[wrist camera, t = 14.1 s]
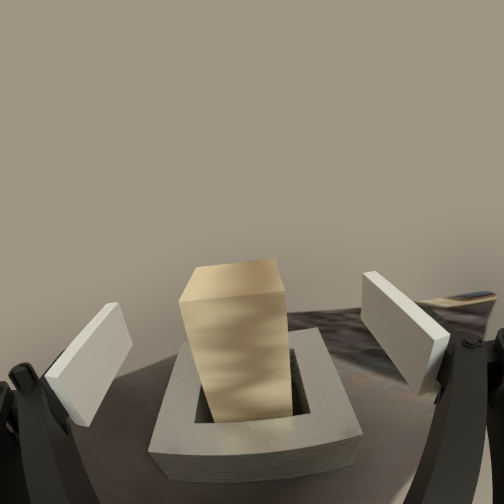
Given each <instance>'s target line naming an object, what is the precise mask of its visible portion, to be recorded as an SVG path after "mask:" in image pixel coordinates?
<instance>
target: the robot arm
mask: <svg viewBox="0 0 504 504" xmlns="http://www.w3.org/2000/svg"><path fill="white" fill-rule="evenodd" d="M362 279H363V281H362V304H361V305H362V306H361V320H362V321H363V322H364V324H365V325H366V326H367V328H368V329H369V330H370V332H371V333H372V334H373V336H374V337H375V338H376V340H377V341H378V342H379V344H380V345H381V346H382V348H383V349H384V350H385V352H386V353H387V355H388V356H389V357H390V359H391V360H392V361H393V363H394V364H395V366H396V367H397V368H398V370H399V371H400V373H401V374H402V375H403V377H404V378H405V380H406V381H407V382H408V384H409V385H410V387H411V388H412V390H413V391H414V392H415V394H416V395H417V397H418V396H421V395H423V394H425V393H428V392H430V391H432V390H433V388H434V385H435V382H436V380H438V382H439V383H440V384H441V387H440V390H439V392H438V394H437V397H436V399H435V402H434V404H436V407H435V412H434V416H433V420H432V424H431V427H430V431H429V435H428V438H427V442H426V445H425V448H424V451H423V454H422V457H421V460H420V463H419V466H418V468H417V471H416V474H415V476H414V479H413V481H412V484H411V486H410V489H409V491H408V493H407V496H406V498H405V500H404V502H403V504H472V501H473V497H474V494H475V490H476V486H477V481H478V477H479V472H480V467H481V461H482V455H483V448H484V440H485V431H486V426H487V432H488V438H489V446H490V454H491V466H492V482H493V483H492V484H493V504H504V328H502V329H500V330H499V331H498V333H497V336H496V339H495V340H492V341H485V342H484V340H483V339H482V338H481V337H479V336H477V335H474V334H462V335H461V334H460V333H459V332H458V331H456V330H455V329H454V328H453V327H452V326H451V325H449V324H448V323H447V322H446V321H444V319H442V318H441V317H439V315H438V314H436V313H435V312H434V311H433V310H431V309H428V308H426V307H424V306H422V307H418V306H417V305H416V304H415V303H414V302H413V301H411V300H410V299H409V298H408V297H406V296H405V295H404V294H403V293H402V292H400V291H399V290H398V289H397V288H396V287H394V286H393V285H392V284H391V283H389V282H388V281H387V280H386V279H384V278H383V277H382V276H381V275H379V274H378V273H377V272H376V271H373V272H367V273H363V277H362ZM132 345H133V343H132V340H131V338H130V335H129V332H128V329H127V326H126V324H125V321H124V318H123V315H122V312H121V309H120V305H119V303H107V304H106V305H105V307H103V308H102V309H101V311H100V312H99V313H98V314H97V315H96V316H95V317H94V318H93V319H92V320H91V322H90V323H89V324H88V325H87V326H86V327H85V328H84V329H83V330H82V332H81V333H80V334H79V335H78V336H77V337H76V338H75V340H74V341H73V342H72V343H71V344H70V345H69V347H68V348H67V349H65V350H64V351H62V352H61V354H60V355H59V356H58V357H57V359H55V361H54V362H53V364H52V365H50V367H49V368H48V369H47V370H46V371H45V373H44V374H43V375H42V377H41V378H40V379H39V378H38V376H37V375H36V373H35V371H34V369H33V367H32V365H31V364H30V363H20V364H18V365H16V366H15V367H14V368H12V369H11V371H10V372H9V375H8V376H9V378H10V379H11V381H12V383H13V384H14V386H15V387H16V389H17V390H11V389H10V387H9V385H8V384H7V382H5V381H1V382H0V504H100V502H99V500H98V498H97V496H96V494H95V492H94V489H93V487H92V485H91V483H90V481H89V478H88V476H87V473H86V471H85V469H84V466H83V463H82V461H81V458H80V455H79V453H78V450H77V447H76V444H75V441H74V438H73V435H72V432H71V428H70V425H69V424H68V422H67V421H66V419H67V417H68V416H70V417H71V419H72V420H73V421H74V423H75V424H77V425H82V426H86V427H89V425H90V423H91V421H92V419H93V417H94V415H95V414H96V412H97V410H98V408H99V406H100V404H101V402H102V400H103V398H104V396H105V394H106V392H107V390H108V389H109V387H110V385H111V383H112V381H113V379H114V377H115V375H116V374H117V372H118V370H119V368H120V366H121V365H122V363H123V361H124V359H125V357H126V356H127V354H128V352H129V350H130V349H131V347H132ZM6 422H8V424H9V425H10V426H11V427H12V432H10V431H9V430H8V428H7V427H6Z"/></svg>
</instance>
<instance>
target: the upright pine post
mask: <svg viewBox="0 0 504 504" xmlns="http://www.w3.org/2000/svg"><path fill="white" fill-rule="evenodd" d="M179 306H180V310H181V314H182V317H183V322H184V325H185V329H186V333H187V336H188V340H189V344H190V347H191V351H192V354H193V358H194V361H195V364H196V368H197V371H198V374H199V377H200V381H201V384H202V387H203V390H204V393H205V396H206V399H207V402H208V405H209V408H210V411H211V413H212V416H213V419H214V422H215V423H230V422H245V421H257V420H267V419H275V418H283V417H290V416H293V411H292V390H291V372H290V356H289V340H288V326H287V313H286V300H285V290H284V286H283V283H282V280H281V277H280V273H279V270H278V267H277V264H276V261H275V258H272V259H264V260H256V261H247V262H238V263H230V264H221V265H213V266H204V267H197V268H196V269H195V271H194V273H193V275H192V277H191V279H190V281H189V283H188V285H187V286H186V288H185V290H184V292H183V294H182V296H181V298H180V300H179Z"/></svg>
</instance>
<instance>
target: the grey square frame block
mask: <svg viewBox="0 0 504 504" xmlns="http://www.w3.org/2000/svg"><path fill="white" fill-rule="evenodd" d="M288 340H289V356H290V372H291V384H296V389H297V393H298V397H299V402H300V406H301V410H302V415H297V416H290V417H283V418H275V419H267V420H257V421H245V422H230V423H212V418H213V416H212V413H211V411H210V408H209V405H208V402H207V399H206V396H205V393H204V390H203V387H202V384H201V381H200V377H199V374H198V371H197V368H196V364H195V361H194V358H193V354H192V351H191V347H190V344H189V342H182V344H181V347H180V350H179V353H178V356H177V359H176V362H175V365H174V368H173V371H172V374H171V377H170V380H169V383H168V386H167V389H166V393H165V396H164V399H163V402H162V405H161V409H160V412H159V415H158V418H157V422H156V425H155V428H154V432H153V435H152V438H151V442H150V445H149V449H148V453H149V454H150V455H151V457H152V458H153V459H154V461H155V462H156V463H157V465H158V466H159V467H160V469H161V470H162V471H163V472H164V474H165V475H166V476H167V477H168V478H169V480H172V481H183V482H200V483H242V482H259V481H270V480H279V479H287V478H295V477H301V476H307V475H313V474H318V473H323V472H328V471H332V470H336V469H341V468H345V467H348V466H352V465H353V464H354V461H355V458H356V455H357V452H358V449H359V446H360V443H361V440H362V436H363V433H362V430H361V428H360V425H359V423H358V420H357V418H356V416H355V413H354V411H353V408H352V406H351V404H350V401H349V399H348V396H347V394H346V392H345V389H344V387H343V385H342V382H341V380H340V378H339V375H338V373H337V371H336V369H335V366H334V364H333V362H332V359H331V357H330V355H329V353H328V350H327V348H326V346H325V344H324V341H323V339H322V337H321V335H320V332H319V330H318V328H311V329H305V330H298V331H291V332H288Z"/></svg>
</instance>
